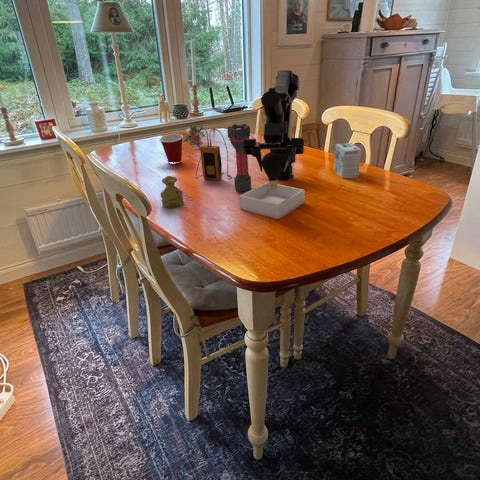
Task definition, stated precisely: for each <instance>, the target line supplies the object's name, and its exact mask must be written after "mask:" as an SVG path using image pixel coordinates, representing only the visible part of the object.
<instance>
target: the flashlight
mask: <svg viewBox="0 0 480 480" xmlns="http://www.w3.org/2000/svg"><path fill="white" fill-rule="evenodd" d="M250 137H251V127H250V125H247V124H246V123H242V124H240V125H238V124H236V123H235V124H232V125H231V126H227V138H228V139H229V142H230V144H231V145H232V147H233V148H234V151H235V160H236V161H235V162H236V163H235V164H236V176H234V178H233V179H234V188H235V191H237V192H239V193H243V192H248V191H250V189H251V188H252V177H251V176H250V174H249V160H248V159H249V157H248V156H249V155H246V154H245V152H244V148H243V141H244V140H245V139H250Z"/></svg>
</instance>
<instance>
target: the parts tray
mask: <svg viewBox="0 0 480 480" xmlns="http://www.w3.org/2000/svg"><path fill="white" fill-rule="evenodd" d="M305 193H306V191H305V189H302V188H297V187H292V186H287V185H283V184H279V183H277V189H276V190H270V189H269V181H265V182H264V183H262V184H260V185H258V186H256V187H254V188H252V189H249V190H248V191H245V192H244V193H242V194H241V195H239V208H240V210H244V211H247V212H249V213H250V212H251V213H255V214H258V215H262V216H265V217H269V218H272V219H276V220H281V219H282V218H283V217H285V216H287V215H288V214H289V213H291V212H293V211H294V210H295V209H297V208H298V207H300V206H302V205H303V204H305V197H306V196H305V195H306V194H305Z"/></svg>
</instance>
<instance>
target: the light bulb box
mask: <svg viewBox="0 0 480 480" xmlns="http://www.w3.org/2000/svg"><path fill="white" fill-rule="evenodd" d="M334 150H335V151H334V161H333V162H334V163H333V171H334V172H335V173H336V174H337V175H338V176H339V177H340V178H341V179H354V178H359V175H360V167H361V166H360V165H361V159H362V149H361V148H360V147H358V146H357V145H356V144H354V143H353V142H346V143H345V142H344V143H335V149H334Z"/></svg>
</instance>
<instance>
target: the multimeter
mask: <svg viewBox="0 0 480 480" xmlns="http://www.w3.org/2000/svg"><path fill="white" fill-rule="evenodd" d="M201 129H202V130H203V131H205V132H206V140H207V144H204V145H202V146H200V141H199V140H198V147H199V152H200V159H199V160H198V164H197V168H196V171H195V175H197V173H198V170H199V165H200V162H201V168H202V170H201V171H202V175H203V179H204V180H212V181H213V180H214V181H220V180H221V179H222V178H223V175H224V174H226V176H227V178H228V179H229V180H231V179H233V177H232V176H231V175H230V174H229V164H227V171H226V172H222V169H223V168H222V167H223V166H222V164H223V163H222V156H221V147H220V146H219V145H212V140H211V138H209V136H211V132H212V131H217V132H219V133H220V135H221V137H222V139H223V141H224V145H225V148H226V154H227V155H226V157H227V160H226V161H229V152H228V151H229V150H228V147H227V143H226V140H225V138H224V135H223V134H222V132H221V131H220V130H219V129H217V128H211V130H210V131H209V134H208V131H207V130H206V128H204V127H202V128H201ZM201 129H200V128H199V130H200V131H199V133H198V136H199V135H200V132H202V130H201ZM208 135H209V136H208Z"/></svg>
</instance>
